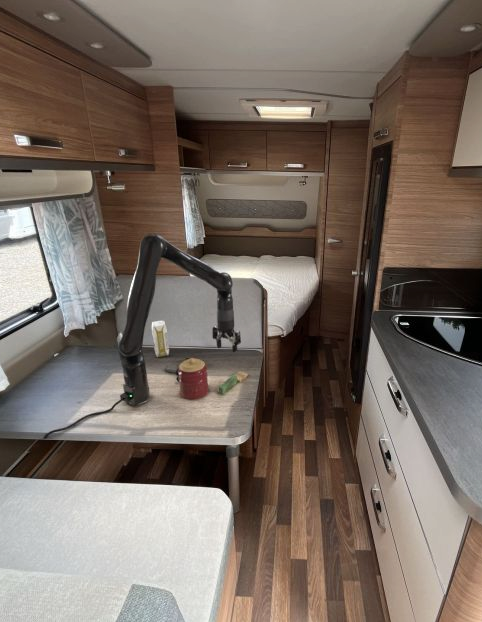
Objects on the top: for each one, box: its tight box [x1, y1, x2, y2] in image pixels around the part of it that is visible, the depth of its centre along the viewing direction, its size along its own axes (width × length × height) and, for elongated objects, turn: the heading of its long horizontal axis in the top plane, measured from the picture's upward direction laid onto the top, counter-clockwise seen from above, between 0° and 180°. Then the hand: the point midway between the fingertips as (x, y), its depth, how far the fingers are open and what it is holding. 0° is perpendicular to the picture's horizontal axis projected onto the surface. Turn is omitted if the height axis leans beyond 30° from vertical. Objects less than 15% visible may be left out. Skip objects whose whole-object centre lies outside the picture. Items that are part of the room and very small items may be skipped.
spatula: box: [217, 370, 249, 395], centre depth 163 cm, size 19×6×3 cm, turn 154°
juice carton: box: [151, 320, 170, 358], centre depth 188 cm, size 8×9×19 cm
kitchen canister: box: [177, 357, 210, 400], centre depth 154 cm, size 13×13×18 cm
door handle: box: [164, 357, 205, 382], centre depth 174 cm, size 3×20×16 cm
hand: (227, 349), depth 156 cm, fingers open, 8 cm apart
